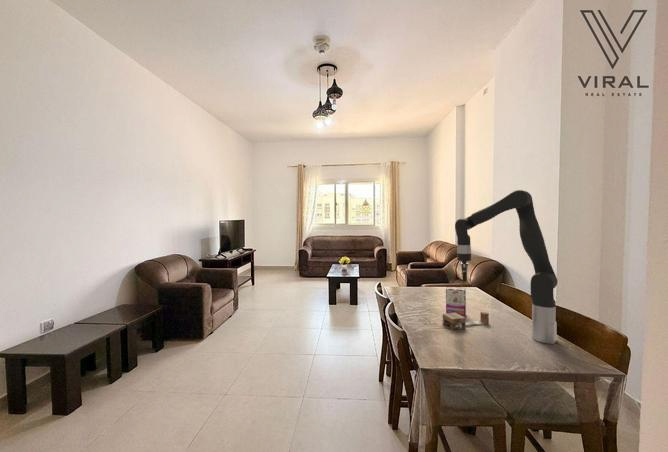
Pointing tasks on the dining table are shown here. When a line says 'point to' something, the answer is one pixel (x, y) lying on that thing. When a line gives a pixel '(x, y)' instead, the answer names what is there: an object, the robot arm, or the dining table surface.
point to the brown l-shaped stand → (483, 321)
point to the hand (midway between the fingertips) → (464, 280)
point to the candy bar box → (456, 301)
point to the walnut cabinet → (454, 320)
